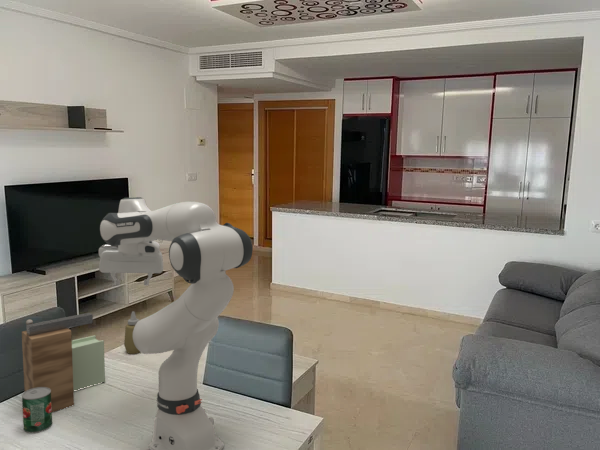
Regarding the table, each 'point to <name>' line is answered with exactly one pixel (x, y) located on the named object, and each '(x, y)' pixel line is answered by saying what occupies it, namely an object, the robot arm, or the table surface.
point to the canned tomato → (37, 409)
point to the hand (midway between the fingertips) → (131, 284)
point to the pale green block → (88, 362)
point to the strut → (59, 324)
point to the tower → (49, 365)
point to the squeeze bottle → (130, 335)
